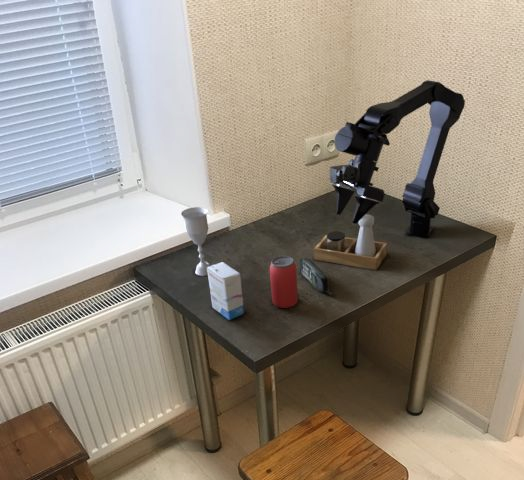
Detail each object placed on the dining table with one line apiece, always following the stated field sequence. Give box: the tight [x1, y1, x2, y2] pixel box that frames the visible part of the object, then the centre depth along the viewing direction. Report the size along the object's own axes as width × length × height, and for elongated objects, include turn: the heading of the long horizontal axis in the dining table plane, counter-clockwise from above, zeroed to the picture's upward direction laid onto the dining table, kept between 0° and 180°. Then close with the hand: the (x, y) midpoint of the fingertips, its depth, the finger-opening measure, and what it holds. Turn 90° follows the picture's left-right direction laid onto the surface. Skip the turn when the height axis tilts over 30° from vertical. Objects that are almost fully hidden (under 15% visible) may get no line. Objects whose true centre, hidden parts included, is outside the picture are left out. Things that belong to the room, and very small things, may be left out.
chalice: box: [180, 206, 211, 277], centre depth 156 cm, size 7×7×18 cm
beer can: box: [269, 255, 299, 309], centre depth 142 cm, size 7×7×12 cm
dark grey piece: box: [299, 257, 333, 296], centre depth 150 cm, size 5×3×15 cm
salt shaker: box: [354, 213, 376, 257], centre depth 156 cm, size 6×6×13 cm
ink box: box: [207, 261, 245, 321], centre depth 141 cm, size 9×5×12 cm, turn 35°
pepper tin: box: [326, 230, 346, 252], centre depth 162 cm, size 5×5×6 cm
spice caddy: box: [313, 233, 388, 271], centre depth 161 cm, size 10×18×4 cm, turn 63°
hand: (346, 218), depth 149 cm, fingers open, 9 cm apart
